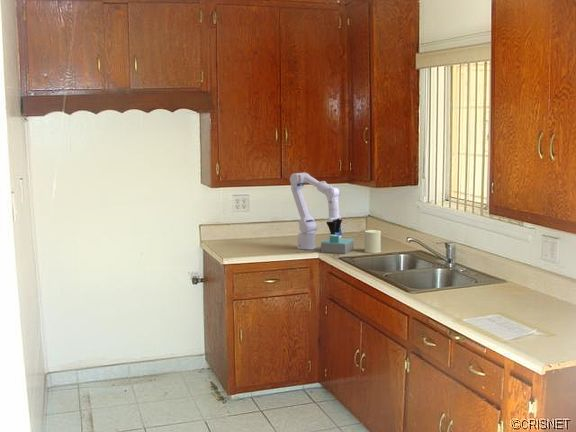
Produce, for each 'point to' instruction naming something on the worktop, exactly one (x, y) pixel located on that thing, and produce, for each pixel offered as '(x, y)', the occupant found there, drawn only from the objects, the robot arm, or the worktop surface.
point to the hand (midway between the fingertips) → (335, 233)
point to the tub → (338, 247)
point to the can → (372, 241)
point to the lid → (335, 241)
